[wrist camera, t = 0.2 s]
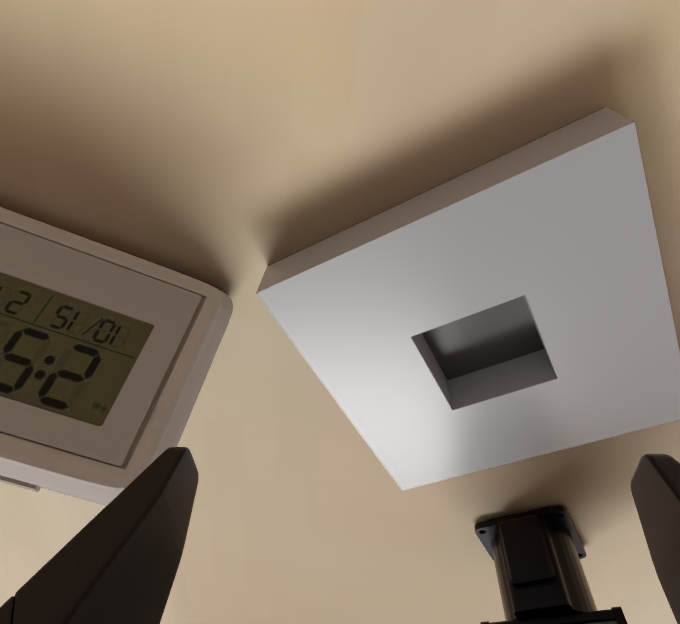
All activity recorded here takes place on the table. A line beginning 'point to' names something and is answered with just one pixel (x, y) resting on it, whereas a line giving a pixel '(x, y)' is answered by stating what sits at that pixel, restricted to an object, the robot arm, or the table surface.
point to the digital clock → (95, 359)
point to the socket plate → (494, 310)
